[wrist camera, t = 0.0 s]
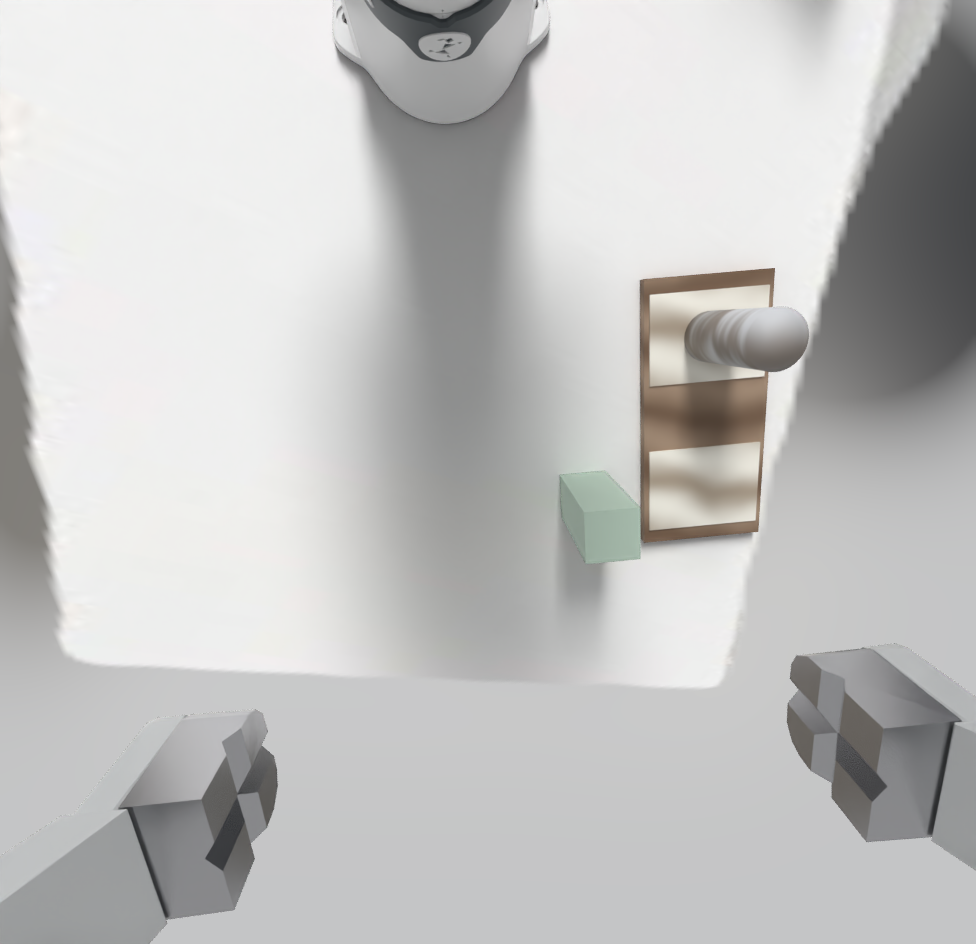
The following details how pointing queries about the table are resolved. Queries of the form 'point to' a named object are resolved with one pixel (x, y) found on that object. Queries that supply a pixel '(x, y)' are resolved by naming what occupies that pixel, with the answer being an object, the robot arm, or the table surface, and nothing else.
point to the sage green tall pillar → (600, 517)
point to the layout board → (708, 398)
